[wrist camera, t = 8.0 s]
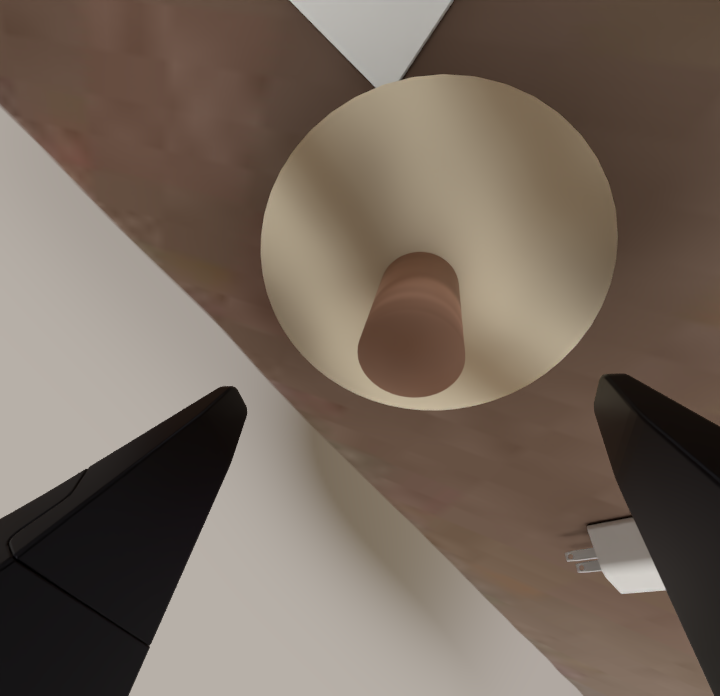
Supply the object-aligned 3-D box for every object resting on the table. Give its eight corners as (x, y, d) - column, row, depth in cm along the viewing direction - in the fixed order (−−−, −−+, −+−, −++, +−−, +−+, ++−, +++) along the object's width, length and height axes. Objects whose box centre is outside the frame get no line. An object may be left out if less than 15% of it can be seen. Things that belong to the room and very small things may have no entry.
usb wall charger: (662, 536, 28) (690, 591, 24) (574, 549, 31) (589, 599, 28) (643, 511, 26) (670, 566, 23) (554, 528, 30) (567, 578, 27)
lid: (412, -52, 9) (380, -218, 4) (687, 270, 12) (835, 365, 7) (224, 286, 16) (141, 352, 12) (423, 431, 19) (418, 529, 14)
